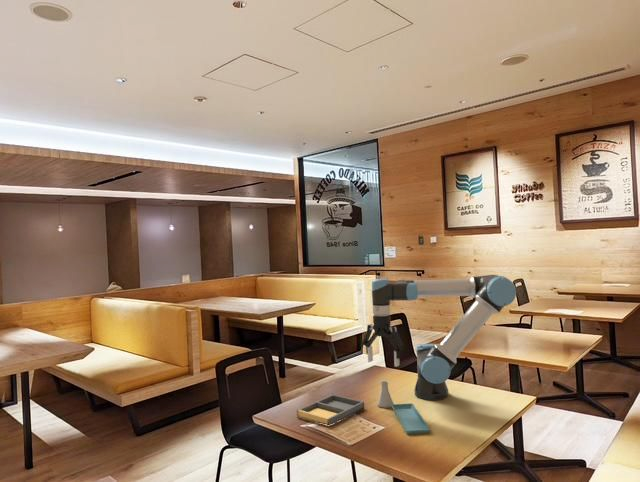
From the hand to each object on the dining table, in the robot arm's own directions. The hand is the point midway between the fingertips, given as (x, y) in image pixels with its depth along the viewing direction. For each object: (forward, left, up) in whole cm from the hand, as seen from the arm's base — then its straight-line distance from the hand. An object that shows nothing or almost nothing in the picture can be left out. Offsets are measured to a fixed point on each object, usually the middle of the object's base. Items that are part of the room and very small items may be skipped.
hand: (383, 363), depth 197 cm
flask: (0, 0, -18) cm, 18 cm away
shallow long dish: (-17, +9, -19) cm, 27 cm away
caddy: (+13, +20, -18) cm, 30 cm away
